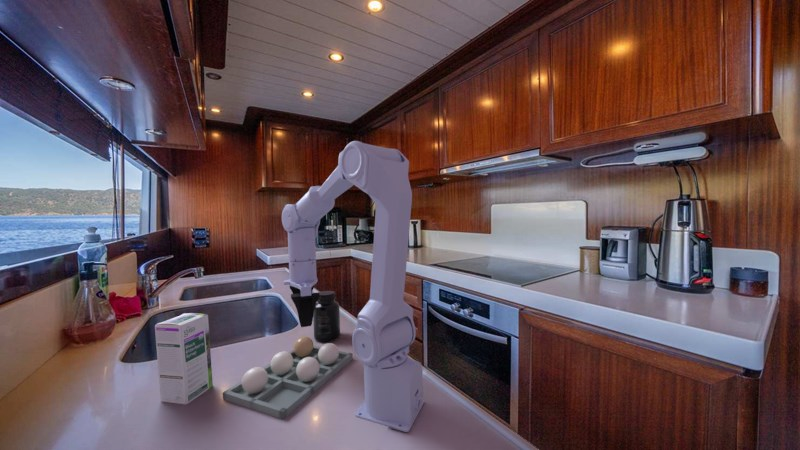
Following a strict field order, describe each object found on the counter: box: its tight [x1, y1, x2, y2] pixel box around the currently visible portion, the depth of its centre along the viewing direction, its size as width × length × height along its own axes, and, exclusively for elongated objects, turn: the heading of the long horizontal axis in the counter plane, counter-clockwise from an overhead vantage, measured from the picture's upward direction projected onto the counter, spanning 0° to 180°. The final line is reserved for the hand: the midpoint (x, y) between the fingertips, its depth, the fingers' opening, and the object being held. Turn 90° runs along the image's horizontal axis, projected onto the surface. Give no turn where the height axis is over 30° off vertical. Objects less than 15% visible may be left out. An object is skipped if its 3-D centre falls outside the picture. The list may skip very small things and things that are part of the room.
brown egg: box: [292, 336, 314, 357], centre depth 68 cm, size 4×4×4 cm
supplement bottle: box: [312, 290, 341, 343], centre depth 78 cm, size 7×7×12 cm
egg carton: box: [222, 342, 354, 420], centre depth 59 cm, size 14×21×5 cm
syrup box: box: [154, 312, 214, 405], centre depth 54 cm, size 6×6×14 cm
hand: (304, 320), depth 66 cm, fingers open, 7 cm apart
